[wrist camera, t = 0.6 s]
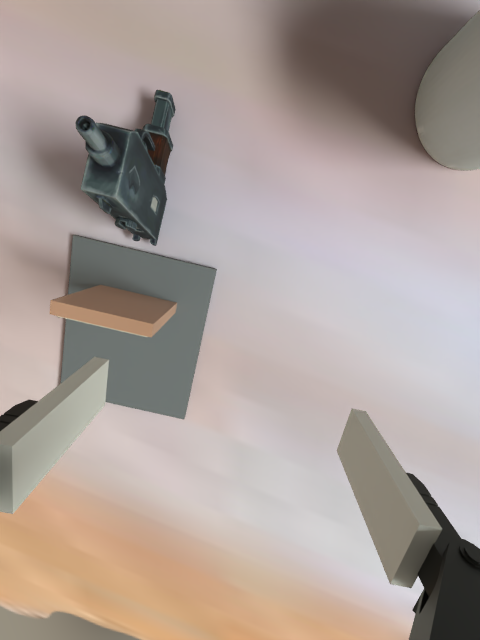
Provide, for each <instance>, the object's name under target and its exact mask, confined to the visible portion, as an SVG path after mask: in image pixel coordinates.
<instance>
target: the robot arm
mask: <svg viewBox="0 0 480 640" xmlns="http://www.w3.org/2000/svg"><path fill="white" fill-rule="evenodd" d="M108 366H109V360H108V359H103V358H98V357H94V358H92V359H91V360H90V361H89V362H87V363H86V364H85V365H84V366H82V367H81V368H80V369H79V370H77V371H76V372H75V373H73V374H72V375H71V376H70V377H68V378H67V379H66V380H65V381H63V382H62V383H61V384H60V385H58V386H57V387H56V388H55V389H53V390H52V391H51V392H50V393H48V394H47V395H46V396H44V397H43V398H42V399H41V400H39V401H33V400H27V401H25V402H22V403H20V404H17V405H15V406H13V407H12V408H11V409H9V410H8V411H7V412H5V413H4V415H1V416H0V512H5V513H11V514H13V513H14V512H15V511H16V510H17V508H18V507H19V506H20V505H21V504H22V503H23V501H24V500H25V499H26V498H27V497H28V495H29V494H30V493H31V492H32V491H33V490H34V488H35V487H36V486H37V485H38V484H39V482H40V481H41V480H42V479H43V478H44V477H45V475H46V474H47V473H48V472H49V471H50V469H51V468H52V467H53V466H54V465H55V464H56V462H57V461H58V460H59V459H60V458H61V456H62V455H63V454H64V453H65V452H66V451H67V449H68V448H69V447H70V446H71V445H72V443H73V442H74V441H75V440H76V439H77V438H78V436H79V435H80V434H81V433H82V432H83V430H84V429H85V428H86V427H87V426H88V425H89V423H90V422H91V421H92V420H93V419H94V417H95V416H96V415H97V414H98V413H99V412H100V410H101V409H102V408H103V407H104V406H105V400H106V388H107V377H108ZM337 452H338V455H339V457H340V460H341V462H342V465H343V467H344V470H345V472H346V475H347V477H348V480H349V482H350V485H351V487H352V490H353V492H354V495H355V497H356V500H357V502H358V505H359V507H360V510H361V512H362V515H363V517H364V520H365V522H366V525H367V527H368V530H369V532H370V535H371V537H372V540H373V542H374V545H375V547H376V550H377V552H378V555H379V557H380V560H381V562H382V565H383V567H384V570H385V572H386V575H387V577H388V580H389V582H390V584H393V585H398V586H403V587H409V588H412V586H413V584H414V582H415V580H416V578H417V577H418V576H419V578H420V580H421V582H422V584H423V586H424V590H423V592H422V593H421V595H420V597H419V599H418V601H417V603H416V605H415V606H414V608H413V611H414V612H415V613H416V614H415V618H414V622H413V626H412V630H411V633H410V637H409V640H480V549H479V548H478V547H476V546H475V545H474V544H472V543H470V542H468V541H466V540H464V539H461V538H460V536H459V535H458V533H457V532H456V530H455V529H454V527H453V526H452V525H451V523H450V522H449V520H448V519H447V517H446V516H445V514H444V513H443V512H442V510H441V509H440V507H438V504H437V503H436V501H435V500H434V499H433V498H432V497H431V494H430V493H429V491H428V490H427V488H426V487H425V486H424V484H423V483H422V482H421V481H419V480H418V479H417V478H416V477H415V476H414V475H413V474H410V473H406V472H405V471H404V469H403V468H402V466H401V465H400V463H399V462H398V460H397V459H396V457H395V456H394V454H393V452H392V451H391V449H390V448H389V446H388V445H387V443H386V442H385V440H384V439H383V437H382V436H381V434H380V433H379V431H378V429H377V428H376V426H375V425H374V423H373V422H372V420H371V419H370V417H369V416H368V414H367V413H366V411H361V410H356V409H352V410H351V412H350V415H349V418H348V421H347V424H346V426H345V429H344V432H343V435H342V438H341V440H340V443H339V446H338V449H337Z"/></svg>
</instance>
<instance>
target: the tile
mask: <svg viewBox="0 0 480 640" xmlns="http://www.w3.org/2000/svg"><path fill="white" fill-rule="evenodd" d="M176 307H177V303H176V302H172V301H168V300H163V299H159V298H155V297H151V296H147V295H142V294H138V293H134V292H130V291H125V290H121V289H117V288H113V287H109V286H104V285H98V286H95V287H91V288H88V289H85V290H82V291H79V292H75V293H72V294H69V295H66V296H63V297H59V298H56V299H53V300H51V303H50V314H52V315H56V316H57V317H61V318H66V319H70V320H74V321H79V322H83V323H87V324H92V325H96V326H100V327H105V328H109V329H113V330H118V331H122V332H126V333H131V334H135V335H139V336H143V337H152V336H153V335H154V334H155V333H156V332H157V331H158V330H159V329H160V328H161V327H162V326H163V325H164V324H165V323H166V322H167V321H168V320H169V319H170V318H171V317H172V316H173V315H174V314H175V312H176Z"/></svg>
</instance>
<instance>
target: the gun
mask: <svg viewBox="0 0 480 640" xmlns="http://www.w3.org/2000/svg"><path fill="white" fill-rule="evenodd" d="M154 99H155V102H156V105H155V109H154V113H153V118H152V122H151V124H146V125H145V126H144V127H143V130H141V129H136V130H135V131H132V130H128V129H124V128H120V127H116V126H112V125H109V124H104V123H96V124H95V122H94V121H93V119H91V118H90V117H88V116H80V117H79V118H78V119H77V121H76V129H77V130H78V132H79V133H80V135H81V136H82V137H83V138H84V140H85V141H86V150H87V151H88V153H89V155H88V159H87V164H86V168H85V172H84V177H83V181H82V185H81V190H82V191H83V192H85V193H86V194H87V195H88V196H89V197H90V198H92V199H93V200H94V201H95V202H96V203H97V204H99V206H100V208H101V209H102V210H103V211H104V212H106V213H107V214H110V215H111V216H113V217H114V218H115V219H116V221H115V225H116V226H118V227H119V228H122V229H126V228H127V229H128V230H129V231H130V232H131V233H133V234H134V235H133V240H134V241H139V240H140V237H142V238H146V239H150V243H151V244H152V245H155V246H156V244H157V240H158V235H159V231H160V227H161V222H162V218H163V214H164V209H165V205H166V201H167V197H166V190H165V186H164V183H165V179H166V178H165V173H166V167H167V162H168V158H169V155H170V152H171V151H172V149H173V144H172V141H171V138H170V135H169V132H168V131H169V127H170V122H171V118H172V117H173V116H174V114H175V106H174V102H173V98H172V95H171V94H170V93H168V92H164V91H161V90H156V92H155V97H154Z"/></svg>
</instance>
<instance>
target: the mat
mask: <svg viewBox="0 0 480 640" xmlns="http://www.w3.org/2000/svg"><path fill="white" fill-rule="evenodd" d="M216 270H217V269H214V268H210V267H206V266H202V265H197V264H193V263H189V262H185V261H181V260H177V259H173V258H169V257H164V256H160V255H156V254H152V253H148V252H144V251H140V250H136V249H131V248H127V247H123V246H119V245H115V244H111V243H107V242H102V241H98V240H94V239H90V238H86V237H82V236H78V235H73V241H72V253H71V265H70V277H69V289H68V295H69V294H72V293H75V292H79V291H82V290H85V289H88V288H91V287H95V286H98V285H104V286H109V287H113V288H117V289H121V290H125V291H130V292H134V293H138V294H142V295H147V296H151V297H155V298H159V299H163V300H168V301H172V302H176V303H177V307H176V312H175V314H174V315H173V316H172V317H171V318H170V319H169V320H168V321H167V322H166V323H165V324H164V325H163V326H162V327H161V328H160V329H159V330H158V331H157V332H156V333H155V334H154V335H153V336H152V337H143V336H139V335H135V334H131V333H126V332H122V331H118V330H113V329H109V328H105V327H100V326H96V325H92V324H87V323H83V322H79V321H74V320H70V319H66V325H65V337H64V349H63V361H62V373H61V383H62V382H63V381H65V380H66V379H67V378H68V377H70V376H71V375H72V374H73V373H75V372H76V371H77V370H79V369H80V368H81V367H82V366H84V365H85V364H86V363H87V362H89V361H90V360H91V359H92V358H94V357H98V358H103V359H108V360H109V366H108V377H107V388H106V400H105V402H108V403H113V404H117V405H122V406H126V407H131V408H135V409H140V410H144V411H149V412H153V413H158V414H162V415H167V416H171V417H176V418H180V419H184V418H185V415H186V410H187V405H188V401H189V396H190V391H191V387H192V382H193V377H194V373H195V368H196V363H197V359H198V354H199V349H200V345H201V340H202V335H203V331H204V326H205V321H206V317H207V312H208V307H209V303H210V298H211V293H212V289H213V284H214V280H215V275H216Z"/></svg>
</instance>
